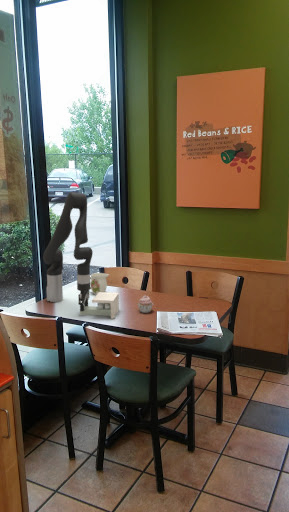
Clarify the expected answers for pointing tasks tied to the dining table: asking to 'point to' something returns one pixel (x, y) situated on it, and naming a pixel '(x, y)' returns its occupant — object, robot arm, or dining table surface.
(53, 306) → the dining table surface
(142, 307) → the cupcake
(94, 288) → the pitcher
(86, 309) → the caddy
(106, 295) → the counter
